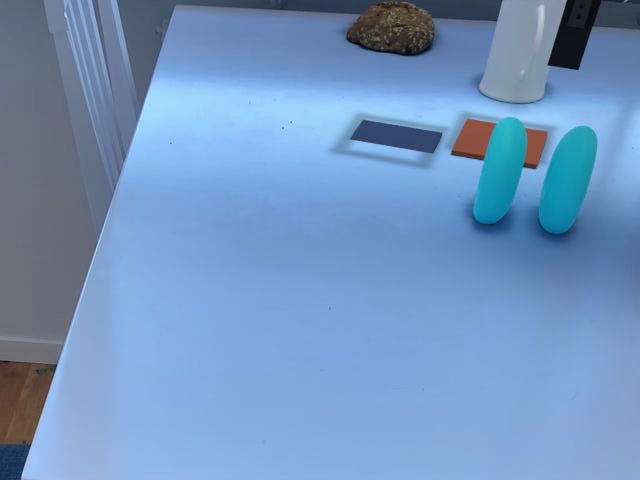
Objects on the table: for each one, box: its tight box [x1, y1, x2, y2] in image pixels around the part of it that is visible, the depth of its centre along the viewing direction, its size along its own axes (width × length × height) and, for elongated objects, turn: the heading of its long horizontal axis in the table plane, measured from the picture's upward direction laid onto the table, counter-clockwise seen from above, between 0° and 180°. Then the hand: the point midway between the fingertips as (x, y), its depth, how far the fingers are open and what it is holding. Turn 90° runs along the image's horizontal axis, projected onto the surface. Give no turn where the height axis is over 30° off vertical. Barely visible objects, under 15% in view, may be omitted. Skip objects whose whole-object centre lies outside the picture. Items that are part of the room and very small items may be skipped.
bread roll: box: [345, 0, 436, 55], centre depth 138 cm, size 13×12×5 cm
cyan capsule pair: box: [472, 116, 598, 235], centre depth 96 cm, size 10×10×10 cm
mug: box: [478, 0, 567, 104], centre depth 121 cm, size 12×8×12 cm
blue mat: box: [349, 119, 443, 154], centre depth 113 cm, size 10×12×1 cm
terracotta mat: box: [450, 118, 549, 170], centre depth 114 cm, size 10×11×1 cm
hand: (571, 44), depth 88 cm, fingers open, 13 cm apart
